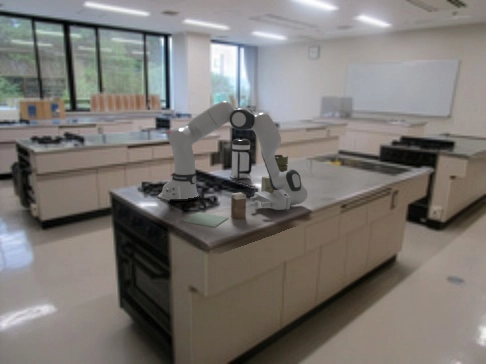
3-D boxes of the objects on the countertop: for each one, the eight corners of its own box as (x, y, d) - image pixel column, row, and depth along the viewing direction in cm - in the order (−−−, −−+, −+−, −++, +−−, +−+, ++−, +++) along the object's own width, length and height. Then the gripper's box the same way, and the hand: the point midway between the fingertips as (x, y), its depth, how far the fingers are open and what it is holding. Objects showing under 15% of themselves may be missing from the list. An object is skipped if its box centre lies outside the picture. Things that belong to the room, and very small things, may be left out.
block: (231, 216, 162) (231, 193, 160) (240, 214, 165) (240, 192, 162) (236, 219, 158) (236, 196, 155) (245, 217, 160) (246, 194, 158)
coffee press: (226, 180, 232) (226, 135, 224) (233, 175, 246) (234, 133, 239) (250, 182, 227) (252, 137, 219) (257, 177, 241) (258, 134, 234)
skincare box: (265, 199, 189) (266, 178, 186) (260, 197, 193) (261, 176, 190) (274, 197, 193) (275, 176, 190) (269, 196, 196) (270, 175, 193)
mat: (183, 221, 153) (183, 220, 153) (198, 213, 165) (198, 212, 165) (214, 227, 147) (214, 226, 147) (228, 218, 159) (228, 217, 158)
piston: (280, 157, 253) (270, 155, 261) (279, 173, 256) (269, 171, 264) (291, 156, 260) (280, 154, 268) (290, 171, 262) (279, 169, 271)
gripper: (268, 187, 180) (245, 190, 173) (292, 197, 163) (268, 201, 156) (267, 199, 181) (245, 202, 174) (291, 210, 164) (267, 214, 157)
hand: (256, 202), depth 165 cm, fingers open, 8 cm apart
